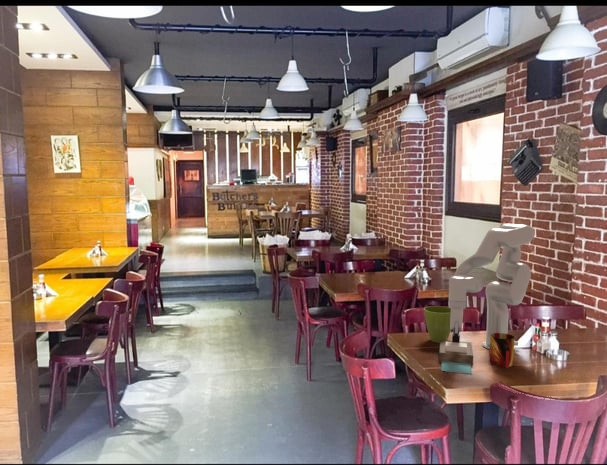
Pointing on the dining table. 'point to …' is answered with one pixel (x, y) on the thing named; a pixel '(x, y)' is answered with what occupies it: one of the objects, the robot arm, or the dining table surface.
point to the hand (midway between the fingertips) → (455, 343)
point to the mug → (501, 349)
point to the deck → (456, 354)
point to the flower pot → (437, 322)
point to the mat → (456, 367)
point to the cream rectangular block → (456, 347)
